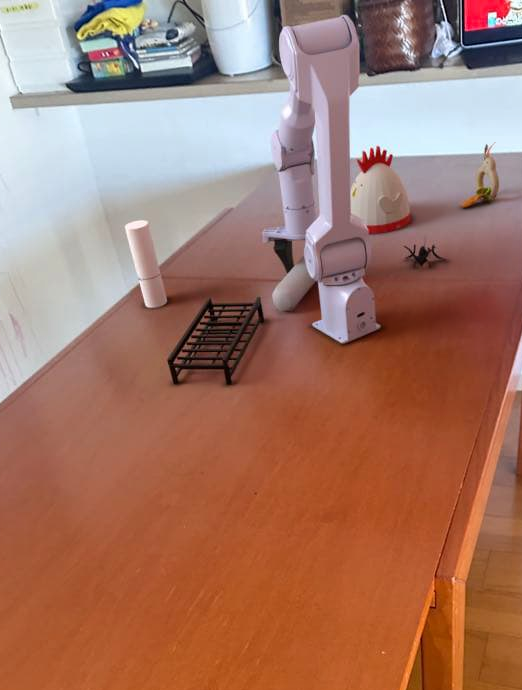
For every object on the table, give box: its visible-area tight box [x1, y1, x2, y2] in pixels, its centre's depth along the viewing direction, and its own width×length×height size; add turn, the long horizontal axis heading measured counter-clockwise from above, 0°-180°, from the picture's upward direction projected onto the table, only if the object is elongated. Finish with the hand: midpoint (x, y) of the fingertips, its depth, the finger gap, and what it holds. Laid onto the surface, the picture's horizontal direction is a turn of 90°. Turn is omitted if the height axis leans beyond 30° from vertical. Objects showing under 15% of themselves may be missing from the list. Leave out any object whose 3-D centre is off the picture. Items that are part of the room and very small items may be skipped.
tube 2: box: [271, 255, 317, 312], centre depth 144 cm, size 5×5×25 cm
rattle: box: [461, 143, 500, 209], centre depth 163 cm, size 8×8×12 cm
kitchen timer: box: [350, 145, 411, 234], centre depth 161 cm, size 14×14×15 cm
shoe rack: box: [166, 296, 265, 386], centre depth 128 cm, size 10×22×4 cm, turn 167°
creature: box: [403, 236, 447, 268], centre depth 145 cm, size 8×5×8 cm
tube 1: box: [124, 219, 168, 309], centre depth 143 cm, size 4×4×15 cm
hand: (307, 278), depth 144 cm, fingers closed on tube 2, 5 cm apart
